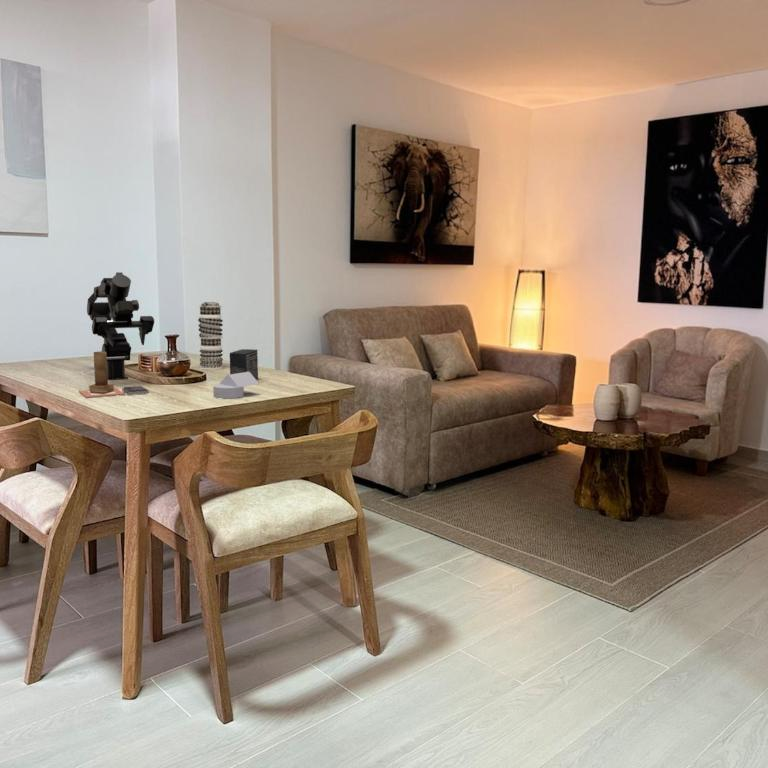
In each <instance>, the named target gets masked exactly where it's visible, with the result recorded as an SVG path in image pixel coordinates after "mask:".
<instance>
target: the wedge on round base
mask: <svg viewBox="0 0 768 768" xmlns="http://www.w3.org/2000/svg"><path fill="white" fill-rule="evenodd" d="M259 384H260V382H259V381H258V379H255V378H254V377H253V375H252V374H251V373H250V372H243V373H236V374H230V373H229V374H227V375H226V377H224V378H223V379H221V381H220V382H219V383H217V384H213V398H214V397H215V399H218V398H223V399H222V400H235V399H234V398H237V399H240V398H239V397H242V398H244V397H243V396H245V393H244V391H245V390H244V388H245V387H248V386H254V385H259Z"/></svg>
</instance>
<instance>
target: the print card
mask: <svg viewBox="0 0 768 768" xmlns="http://www.w3.org/2000/svg"><path fill="white" fill-rule="evenodd" d="M78 393H79V394H80V395H82V396H83V397H84V398H85V399H92V398H104V397H103V396H107V397H115V396H116V395H119V396H125V394H126V393H125V392H123V391H121V390H120V389H119V388H117V387H114V391H113V392H109V393H106V394H97V393H90V391H89V389H88V390H87V389H85V390H79V391H78ZM116 397H117V396H116Z"/></svg>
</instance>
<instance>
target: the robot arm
mask: <svg viewBox="0 0 768 768" xmlns="http://www.w3.org/2000/svg"><path fill="white" fill-rule="evenodd" d="M131 283H132V280H131V278H130V277H128V276H127V275H124V274H123V272H120V271H119V272H115V275H113V277H103V278H102V280H101V281H100V285H97V286H95V287H94V288H93V293H92V294H90V296H89V297H88V299H87V302H86V303H87V305H86V314H87V316H89V319H90V320H91V321H92V324H91V331H92V334H93V335H97V336H98V337H101V338H103V344H102V346H101V351H100V352H106V355H107V377H108V380H109V381H111V380H112V381H113V380H125V379H124V378H127V379H129V377H128V376H127V375H126V370H125V368H126V367H125V365H126V364H125V361H130V360H131V352H132V346H131V344H130V342H128V340H127V337H126V335H125V333H124V332H118V331H117V329H136V328H137V329H138V331H139V333H138V335H139V338H140V339H139V340H140V343H141V345H142V346H144V345H145V339H146V335H148V334H149V333H152V332H153V329H154V325H155V319H154V317H153V316H152V315H140V317H139V320H133V318H134V313H133V312H138V311H139V309H140V304H139V300H138V299H132V300H127V298H128V297H129V292H130V288H131ZM99 298H101V299H102V298H103V299H104V298H106V300H107V301H106V302H105V301H104V302H103V301H101V302H100V301H99V302H97V300H98V299H99Z"/></svg>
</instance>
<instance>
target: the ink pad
mask: <svg viewBox="0 0 768 768" xmlns="http://www.w3.org/2000/svg"><path fill="white" fill-rule="evenodd" d="M123 391H124V392H123ZM122 392H123V393H124V394H126V393H127V395H128V396H133V395H132V394H139V395H145V394H144V393H149V394H150V390H148V389H147V388H146V387H144V386H142V385H138V386H137V385H136V386H135V385H134V386H124V387H122Z"/></svg>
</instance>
